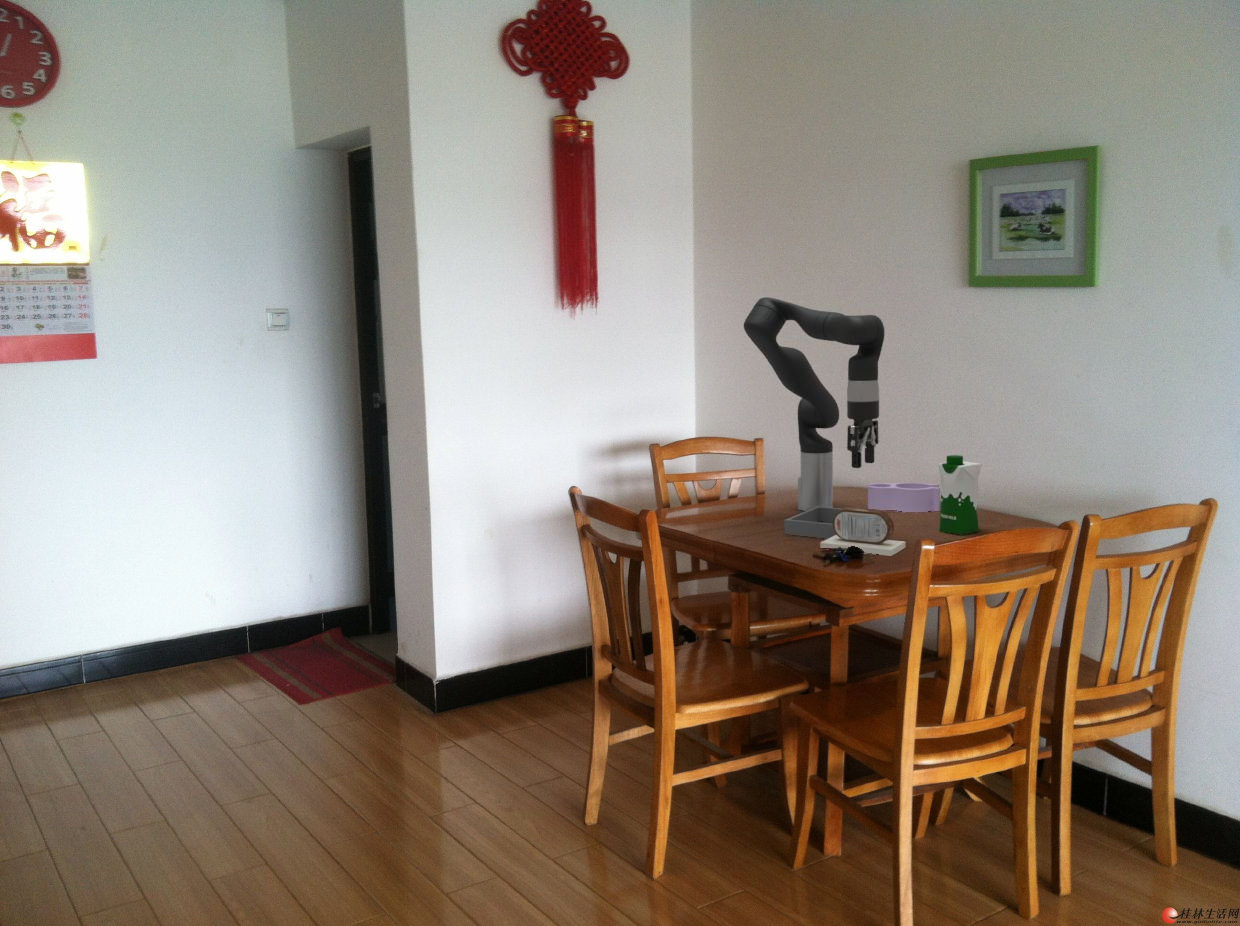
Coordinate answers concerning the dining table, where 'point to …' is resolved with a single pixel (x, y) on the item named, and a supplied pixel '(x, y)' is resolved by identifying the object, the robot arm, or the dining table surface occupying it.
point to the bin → (812, 523)
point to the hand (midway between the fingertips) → (863, 465)
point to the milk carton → (959, 495)
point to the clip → (904, 497)
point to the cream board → (866, 546)
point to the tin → (863, 525)
